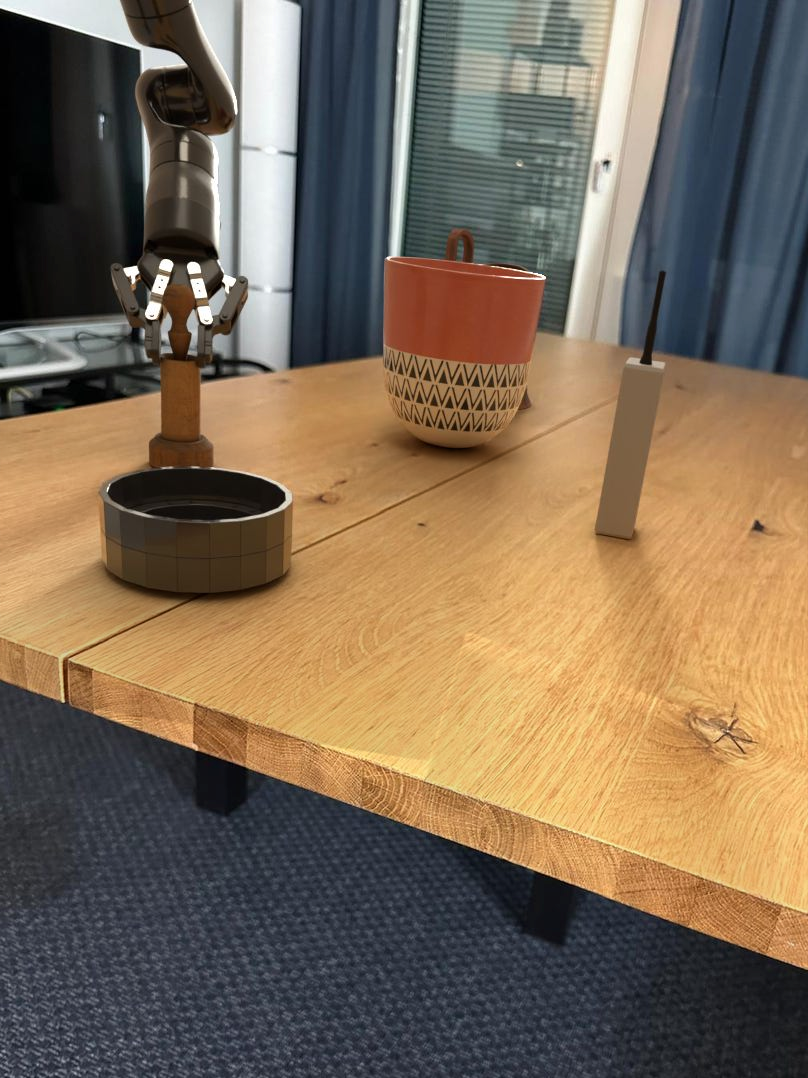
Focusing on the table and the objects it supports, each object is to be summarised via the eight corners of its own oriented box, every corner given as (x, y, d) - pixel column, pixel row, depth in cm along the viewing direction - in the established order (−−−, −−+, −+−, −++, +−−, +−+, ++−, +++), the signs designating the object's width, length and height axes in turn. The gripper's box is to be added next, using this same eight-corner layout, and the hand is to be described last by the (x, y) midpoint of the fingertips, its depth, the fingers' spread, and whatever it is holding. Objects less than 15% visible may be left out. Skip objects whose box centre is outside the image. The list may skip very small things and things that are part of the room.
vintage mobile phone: (634, 526, 97) (684, 271, 86) (630, 540, 92) (683, 273, 82) (599, 520, 97) (644, 266, 87) (593, 533, 93) (641, 267, 82)
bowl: (68, 583, 68) (62, 504, 65) (151, 525, 80) (148, 457, 78) (258, 612, 67) (259, 533, 64) (310, 548, 80) (313, 481, 77)
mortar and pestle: (207, 476, 95) (206, 291, 88) (142, 470, 95) (135, 283, 87) (218, 459, 101) (218, 285, 94) (157, 453, 101) (152, 277, 93)
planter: (475, 473, 108) (497, 278, 99) (342, 438, 116) (351, 255, 107) (547, 448, 124) (572, 278, 115) (426, 419, 132) (440, 258, 123)
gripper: (105, 185, 92) (96, 331, 86) (253, 203, 95) (253, 344, 90) (115, 239, 99) (107, 378, 93) (252, 254, 102) (252, 388, 97)
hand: (178, 361), depth 92 cm, fingers closed on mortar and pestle, 3 cm apart
